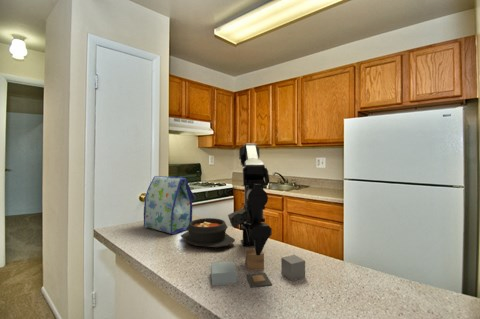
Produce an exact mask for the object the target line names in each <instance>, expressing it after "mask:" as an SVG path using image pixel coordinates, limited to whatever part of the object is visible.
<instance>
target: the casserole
mask: <svg viewBox="0 0 480 319" xmlns="http://www.w3.org/2000/svg"><path fill="white" fill-rule="evenodd" d="M227 229H228V225H227V224H226V221H225V220H223V219H220V218H215V217H212V218H211V217H208V218H206V217H205V218H199V219H194V220H192V221H191V222H190V223H189V226H188V227H187V230H186V232H184V233H182V234H181V235H180V237H181V238H182V239H184V241H185V242H186V243H187V244H190V245H193V246H197V247H203V248H204V247H205V248H207V247H210V248H223V247H226V246H229V245H232V244H233V243H234V242H235V240H236V239H235V238H234V237H232V236H230V235H229V234H227V233H226V231H227Z"/></svg>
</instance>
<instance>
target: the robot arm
mask: <svg viewBox="0 0 480 319" xmlns="http://www.w3.org/2000/svg"><path fill="white" fill-rule="evenodd" d="M238 149H239V150H238V160H240V165H241V167H242V184H243V185H242V186H244V204H243V207H242V208H241V209H239V210H236V211H233V212H231V213H229V214H228V215H227V217H228V219H229V222H230V225H231V227H232V228H235V227H237V226H238V227H239V228H238V229H239V231H242V239H240V243H241V244H242V246H243V247H252V246H254V248H255V251H256V255H260V254H261V252H263V249H264V247H265V245H266V243H267V241H268V239H269V238H270V237H271V236H272V235H273V229H272V228H271V227H270V226H269V224H268V223H266V219H265V217H264V210H266V205H267V203H268V201H269V197H268V196H269V195H268V193H267V192H266V191H265V189H264V186H269V183H270V175H269V170H268V169H267V166H265V163H264V161H263V160H261V159H260V157H261V156H260V148H259V147H258V144H257V143H256V142H255V143H253V142H249V143H248V142H246V143H244V144H243V146H241V147H239V148H238Z"/></svg>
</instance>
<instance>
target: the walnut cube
mask: <svg viewBox="0 0 480 319" xmlns="http://www.w3.org/2000/svg"><path fill="white" fill-rule="evenodd" d="M244 254H245V261H244V262H245V266H246V268H247V270H248V271H260V270H264V269H265V253H264V251H262V252H261V254H260V255H256V251H255V247H254V248H245V252H244Z"/></svg>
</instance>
